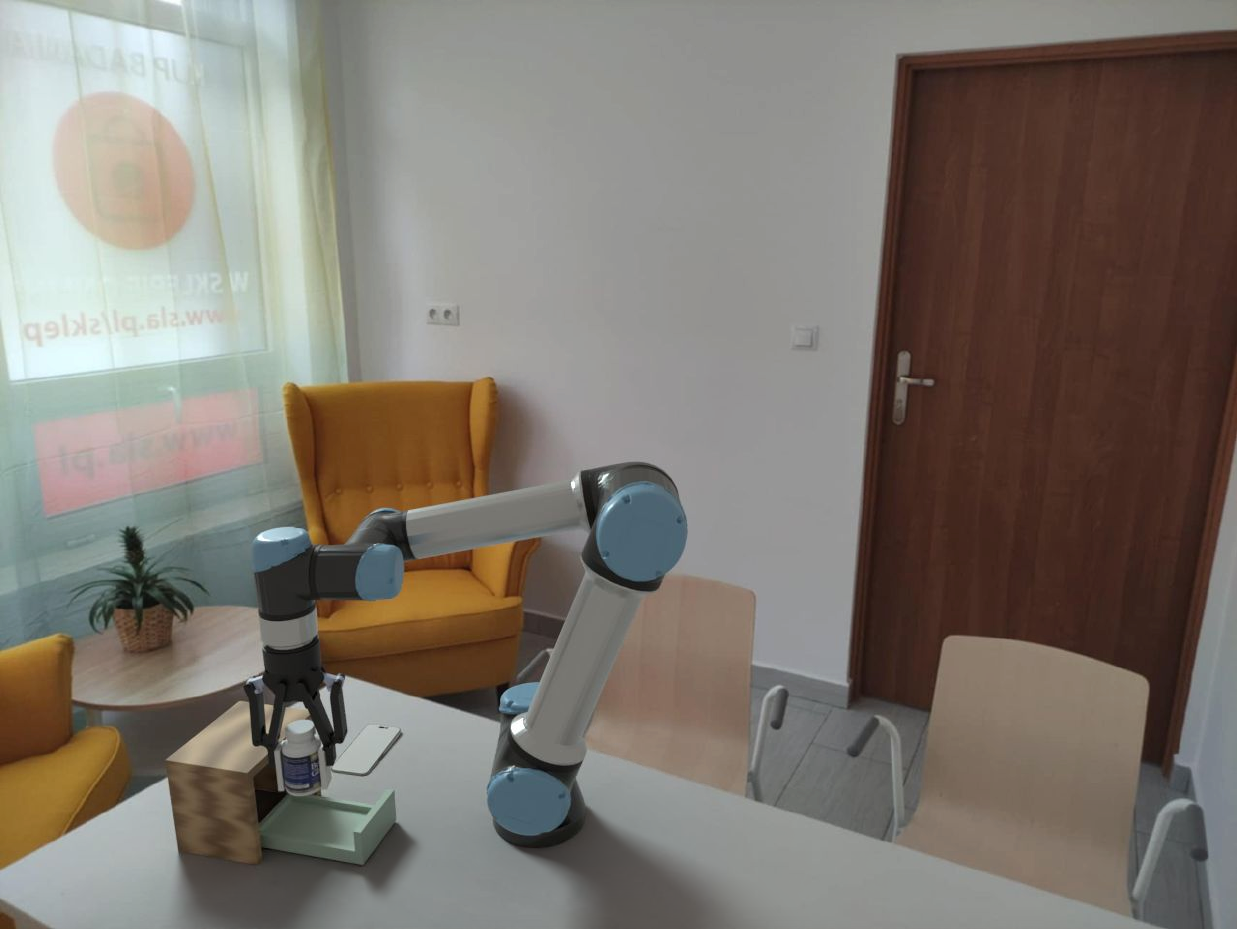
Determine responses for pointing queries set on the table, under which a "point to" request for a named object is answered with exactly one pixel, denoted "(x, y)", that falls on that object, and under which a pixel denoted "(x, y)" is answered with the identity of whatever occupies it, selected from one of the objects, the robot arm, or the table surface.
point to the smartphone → (366, 750)
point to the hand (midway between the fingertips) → (305, 784)
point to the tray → (328, 826)
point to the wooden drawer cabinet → (224, 786)
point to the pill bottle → (301, 758)
